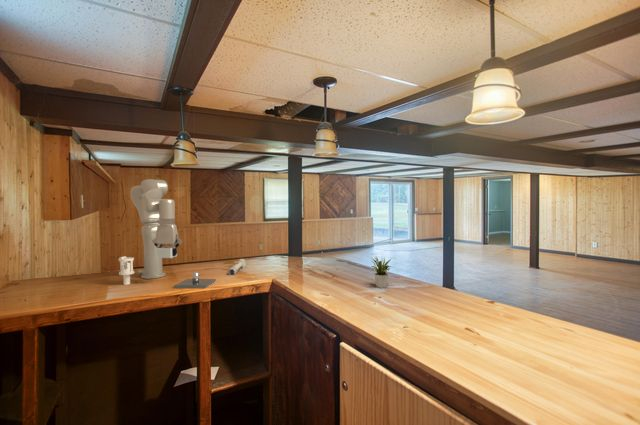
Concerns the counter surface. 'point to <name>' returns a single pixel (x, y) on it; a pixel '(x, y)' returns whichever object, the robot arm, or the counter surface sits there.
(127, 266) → the white upright piece
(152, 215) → the robot arm
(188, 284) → the grey plate with knob
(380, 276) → the house plant
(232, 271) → the white flashlight
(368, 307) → the counter surface
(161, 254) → the collar
